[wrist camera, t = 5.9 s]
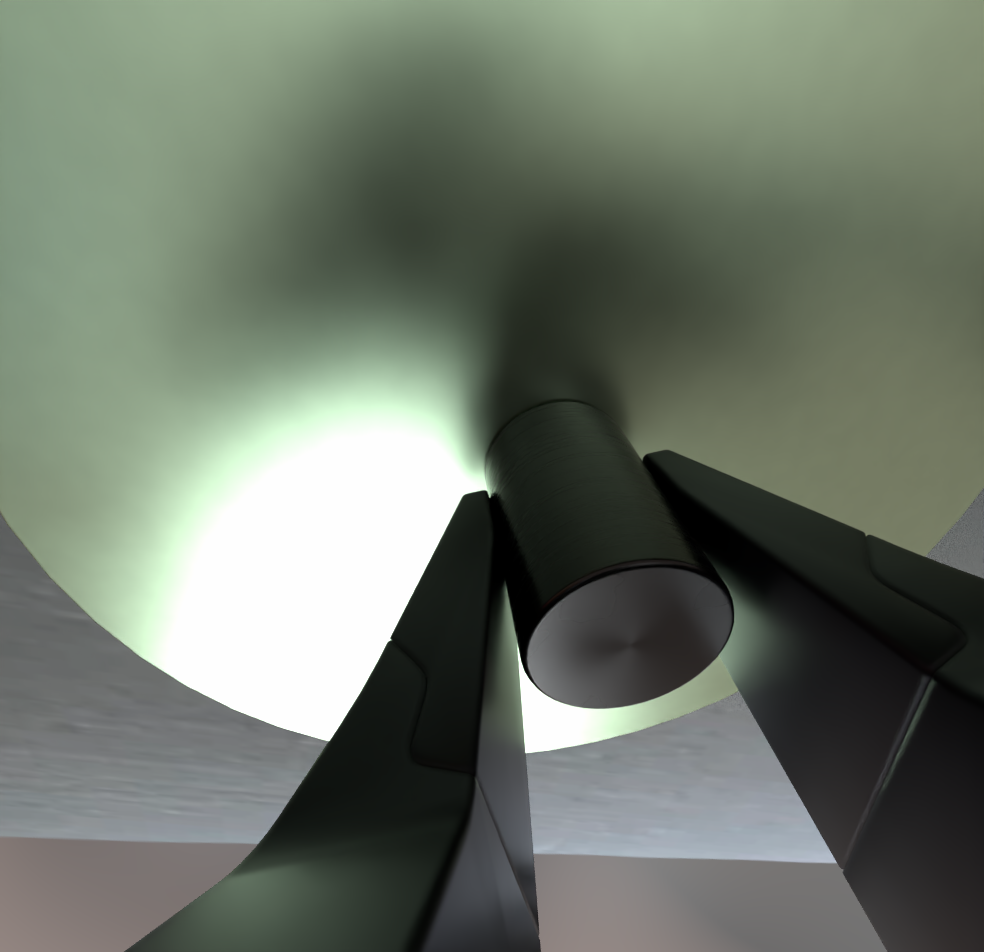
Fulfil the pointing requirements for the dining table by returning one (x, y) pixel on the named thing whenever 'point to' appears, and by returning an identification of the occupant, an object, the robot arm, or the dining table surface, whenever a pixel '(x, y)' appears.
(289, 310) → the bin lid
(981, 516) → the dining table surface
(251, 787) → the dining table surface
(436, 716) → the robot arm
